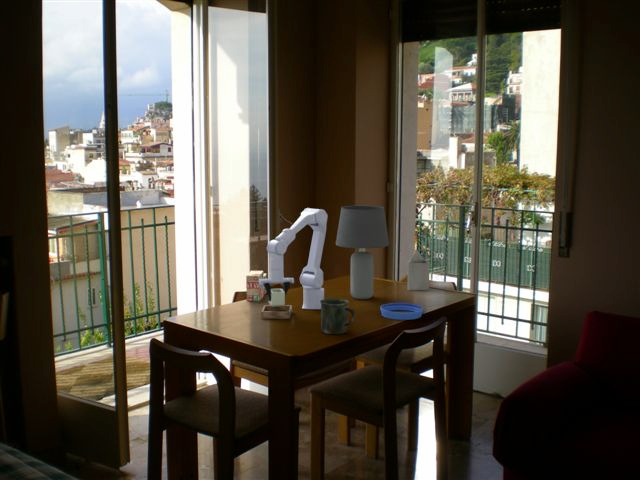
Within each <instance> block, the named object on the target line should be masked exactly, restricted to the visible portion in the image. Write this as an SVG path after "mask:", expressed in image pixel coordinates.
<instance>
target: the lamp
mask: <svg viewBox="0 0 640 480" xmlns="http://www.w3.org/2000/svg"><path fill="white" fill-rule="evenodd" d="M340 208H341V209H340V215H339V221H338V226H337V227H338V228H337V234H336V238H335V239H336V240H335V245H336V246H337V247H341V248H346V249H347V248H349V249H359V251H355V252H354V253H352V254H351V257H350V291H349V292H350V296H351V297H352V298H353V299H356V300H369V299H371V298H372V297H373V295H374V276H375V275H374V270H375V269H374V268H375V267H374V265H375V264H374V261H375V260H374V255H373V254H372V253H371V252H368V251H366V249H378V248H379V249H381V248H385V247H389V246H390V240H389V234H388V226H387V221H386V220H387V218H386V212H385V207H383V206H379V205H347V206H341V207H340Z"/></svg>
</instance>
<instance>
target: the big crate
mask: <svg viewBox="0 0 640 480" xmlns="http://www.w3.org/2000/svg"><path fill="white" fill-rule="evenodd" d="M292 313H293V305H291V304H287V305H286V304H285V306H276V307H272V306H271V305H270V304H268V305H267V304H264V305H263V307H262V309H261V311H260V314H261V315H260V317H261V318H260V319H261V320H291V317H292Z"/></svg>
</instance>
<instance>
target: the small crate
mask: <svg viewBox="0 0 640 480" xmlns="http://www.w3.org/2000/svg"><path fill="white" fill-rule="evenodd" d="M268 305H271V306H272V307H276V306H285V305H286V298H285V292H284V291H283V288H271V301H269V300H268Z"/></svg>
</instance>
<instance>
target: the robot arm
mask: <svg viewBox="0 0 640 480" xmlns="http://www.w3.org/2000/svg"><path fill="white" fill-rule="evenodd" d="M328 217H329V216H328V213H327V212H326V210H325V209H322V208H320V209H319V208H310V207H307V208H304V210H302V212H300V216H299V217H298V218H297V220H296V221H295V222H294V223H293V224H292V225H291V226H290V228H284V229H283V230H282V231H281V233H279V235H278V236H276V237H275V238H274V239H272V240H270V241H269V242H268V243H267V246H266V251H267V252H268V257H269V277H268V278H267V279H259V284H260V285H264V287H265V289H266V295H267V299H268V302H269V301H271V289H272V285H271V284H273V285H275V284H281V285H282V290H283V291H284V292H285V299H286V297H287V293H288V291H289V289H290V287H291V284H294V283H295V278H294V277H284V254H285V253H286V252H287V249H288V246H289V245H290V244H292V242H293V241H294V240H295V239H296V234H298V232H299V231H301V230H302V229H303V228H305V226H307V225H308V226H310V228H311V229H312V230H313V233H312V237H311V244H310V248H309V256H308V261H307V265H306V266H304V267H303V268H302V271H301V274H300V276H299V282H300V285H302V286H301V287H302V289H303V290H302V291H303V301H302V302H303V304H302V307H301V309H302V310H321V303H320V301H321V300H322V299H325V288H323V287H322V286H323V284H324V272H323V270H322V268H320V267H321V261H322V255H323V250H324V244H325V239H326V234H327V223H328Z"/></svg>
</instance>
